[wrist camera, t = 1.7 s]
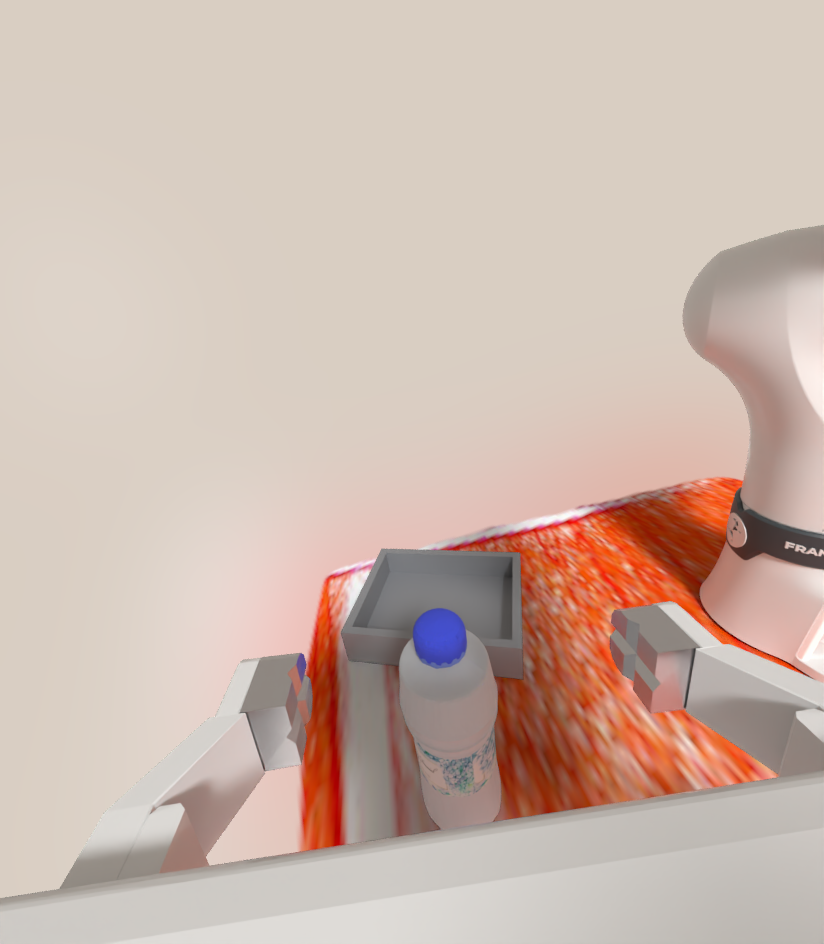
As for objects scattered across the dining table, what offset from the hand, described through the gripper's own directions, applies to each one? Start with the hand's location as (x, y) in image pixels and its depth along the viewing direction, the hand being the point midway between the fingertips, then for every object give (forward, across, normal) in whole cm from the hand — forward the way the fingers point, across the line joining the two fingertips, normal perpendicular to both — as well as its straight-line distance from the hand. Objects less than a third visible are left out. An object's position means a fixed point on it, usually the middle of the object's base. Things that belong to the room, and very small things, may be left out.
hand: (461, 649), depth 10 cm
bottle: (+14, -1, +29) cm, 32 cm away
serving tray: (+34, -2, +27) cm, 43 cm away
